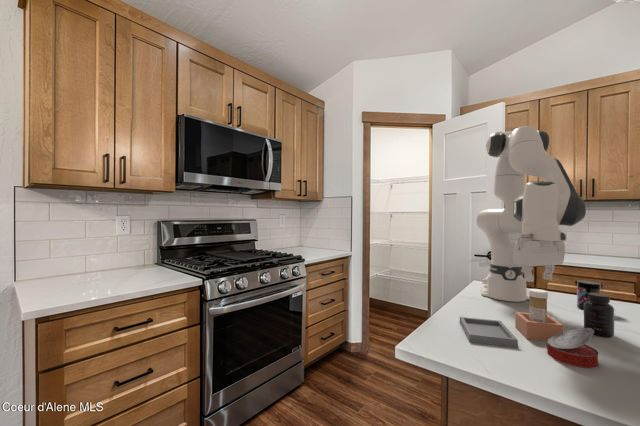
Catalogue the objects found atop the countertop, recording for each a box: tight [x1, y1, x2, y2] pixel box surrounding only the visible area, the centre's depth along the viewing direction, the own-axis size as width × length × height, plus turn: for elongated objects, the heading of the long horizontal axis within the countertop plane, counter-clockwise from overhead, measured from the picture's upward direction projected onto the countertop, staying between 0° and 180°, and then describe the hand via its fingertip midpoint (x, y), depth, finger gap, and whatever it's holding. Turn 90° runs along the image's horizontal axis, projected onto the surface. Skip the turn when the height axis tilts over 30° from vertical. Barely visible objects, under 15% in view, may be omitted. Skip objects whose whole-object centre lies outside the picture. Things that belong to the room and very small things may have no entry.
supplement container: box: [576, 279, 602, 311], centre depth 114 cm, size 7×7×10 cm
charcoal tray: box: [459, 316, 519, 348], centre depth 89 cm, size 15×12×2 cm
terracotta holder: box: [514, 311, 564, 342], centre depth 89 cm, size 9×9×5 cm
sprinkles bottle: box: [528, 288, 549, 323], centre depth 89 cm, size 5×5×14 cm
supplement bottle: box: [583, 292, 615, 339], centre depth 90 cm, size 7×7×12 cm
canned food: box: [546, 327, 599, 369], centre depth 74 cm, size 11×10×10 cm
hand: (538, 280), depth 89 cm, fingers open, 8 cm apart
